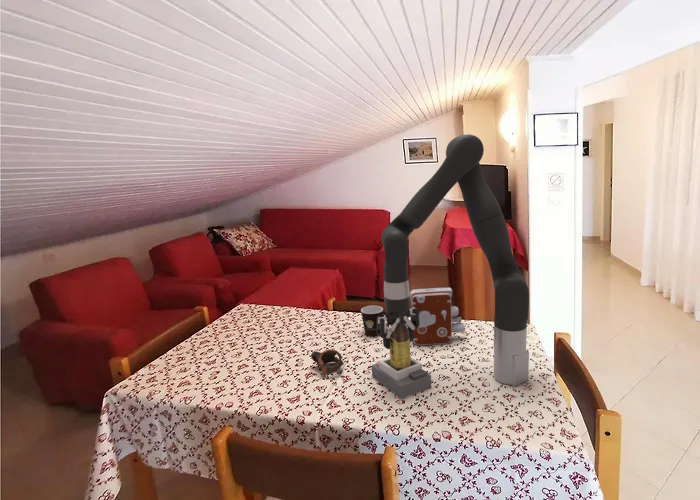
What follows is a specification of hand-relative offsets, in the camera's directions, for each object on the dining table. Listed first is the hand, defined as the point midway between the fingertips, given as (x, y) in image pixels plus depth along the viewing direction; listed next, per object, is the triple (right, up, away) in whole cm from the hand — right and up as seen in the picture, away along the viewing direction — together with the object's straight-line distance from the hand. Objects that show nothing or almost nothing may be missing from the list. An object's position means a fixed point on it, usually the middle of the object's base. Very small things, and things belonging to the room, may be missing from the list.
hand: (399, 344), depth 138 cm
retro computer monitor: (+1, -12, +3) cm, 13 cm away
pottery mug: (-22, -12, +14) cm, 29 cm away
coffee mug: (-5, -4, +38) cm, 39 cm away
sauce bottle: (+1, -8, +2) cm, 9 cm away
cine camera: (+18, -5, +29) cm, 34 cm away
